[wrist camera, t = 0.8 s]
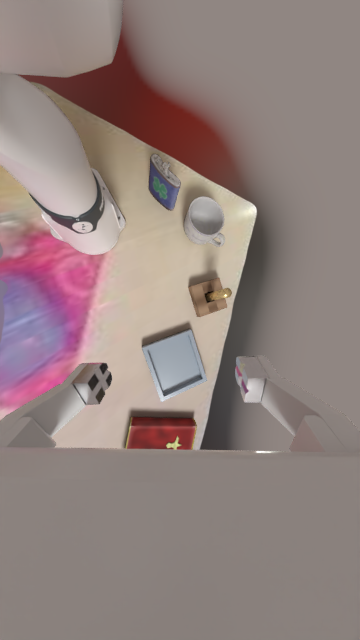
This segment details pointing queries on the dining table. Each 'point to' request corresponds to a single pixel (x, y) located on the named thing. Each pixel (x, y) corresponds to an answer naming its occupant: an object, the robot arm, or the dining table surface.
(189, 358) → the tray
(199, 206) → the teacup
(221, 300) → the pin block
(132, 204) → the dining table surface
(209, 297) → the pin
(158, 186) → the flask
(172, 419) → the hardcover book
